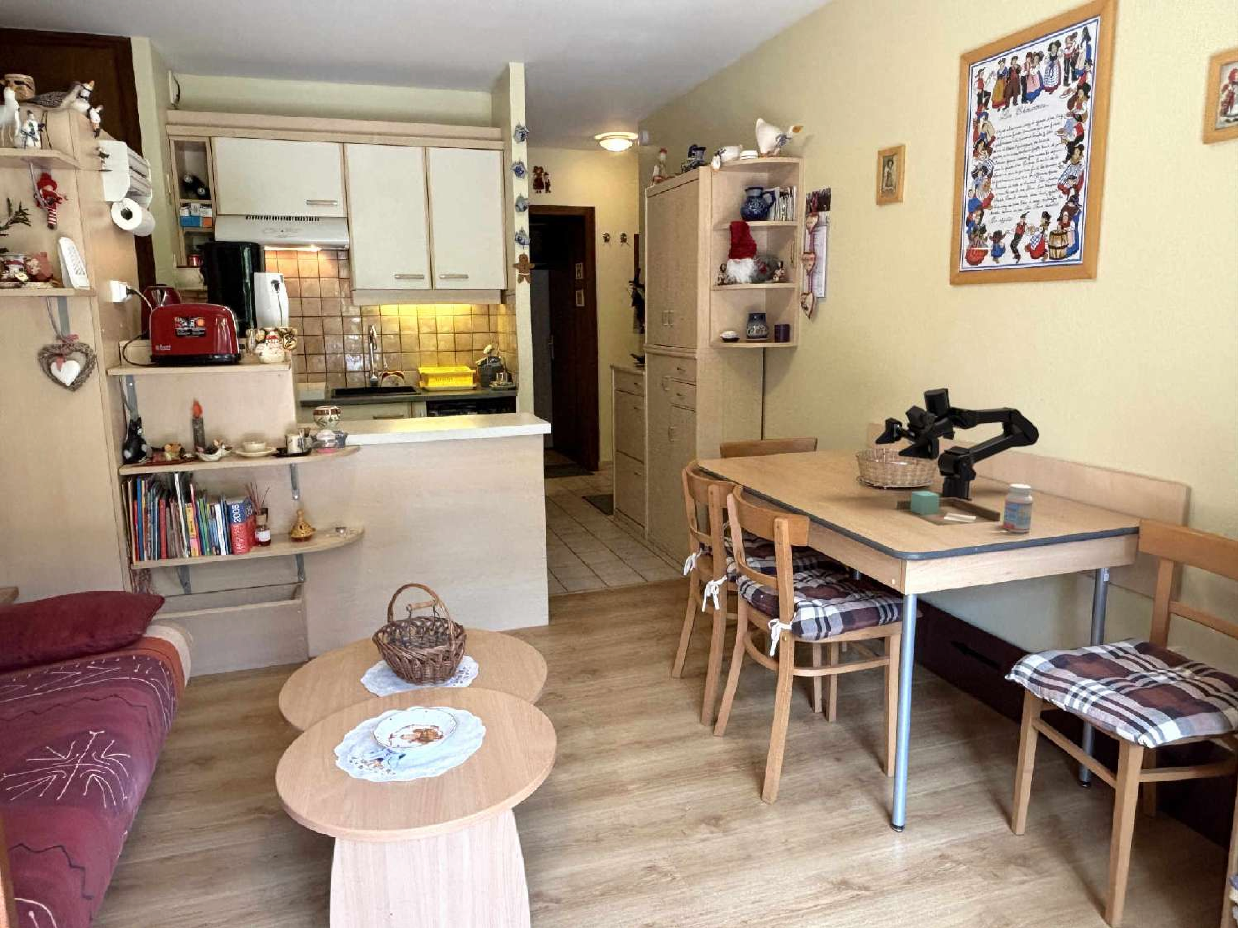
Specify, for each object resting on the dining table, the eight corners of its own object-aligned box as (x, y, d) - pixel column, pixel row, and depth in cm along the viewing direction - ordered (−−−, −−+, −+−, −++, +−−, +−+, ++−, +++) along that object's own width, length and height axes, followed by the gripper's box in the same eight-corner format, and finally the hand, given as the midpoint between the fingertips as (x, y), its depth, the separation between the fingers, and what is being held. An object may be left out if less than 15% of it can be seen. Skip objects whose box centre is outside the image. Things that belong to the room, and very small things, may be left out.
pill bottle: (997, 527, 207) (1001, 483, 205) (1021, 526, 208) (1025, 483, 206) (1011, 533, 201) (1015, 488, 199) (1035, 533, 202) (1039, 488, 200)
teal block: (926, 509, 222) (927, 491, 221) (938, 513, 217) (939, 495, 216) (910, 510, 221) (911, 491, 220) (921, 514, 216) (922, 496, 215)
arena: (954, 507, 227) (955, 497, 227) (999, 524, 210) (1000, 512, 210) (896, 511, 223) (897, 500, 222) (937, 528, 206) (938, 516, 205)
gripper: (907, 393, 234) (863, 411, 230) (957, 413, 218) (910, 433, 214) (908, 428, 239) (864, 446, 235) (957, 450, 224) (911, 470, 219)
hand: (886, 448), depth 225 cm, fingers open, 9 cm apart
